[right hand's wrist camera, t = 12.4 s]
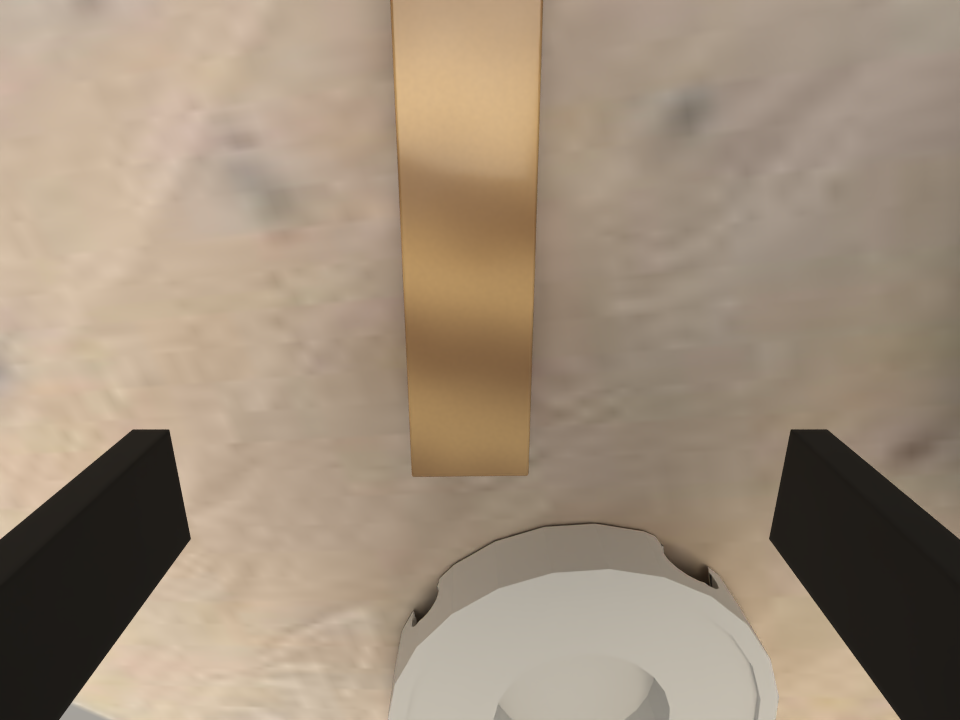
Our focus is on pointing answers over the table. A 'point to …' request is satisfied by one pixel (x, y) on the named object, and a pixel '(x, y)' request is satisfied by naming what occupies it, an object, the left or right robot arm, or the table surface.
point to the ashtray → (580, 637)
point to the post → (468, 227)
